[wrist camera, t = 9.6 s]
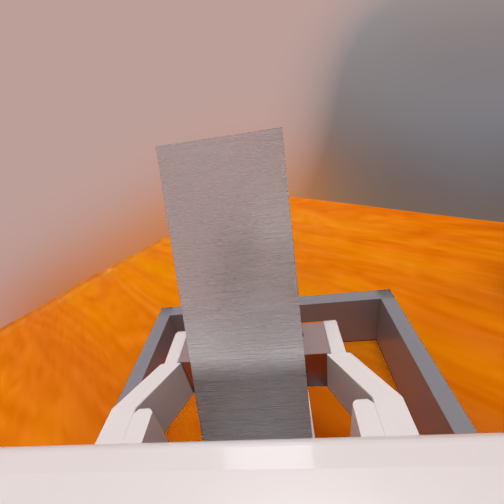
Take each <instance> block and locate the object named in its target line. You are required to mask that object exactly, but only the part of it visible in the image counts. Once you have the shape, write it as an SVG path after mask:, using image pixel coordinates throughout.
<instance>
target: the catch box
mask: <svg viewBox="0 0 504 504" xmlns="http://www.w3.org/2000/svg"><path fill="white" fill-rule="evenodd" d="M299 306H300V316H301V323H305V322H317V321H329V320H336V321H337V324H338V327H339V331H340V334H341V337H342V340H343V342H346V341H362V340H377V342H378V345H379V347H380V349H381V351H382V354H383V356H384V358H385V361H386V363H387V365H388V367H389V370H390V372H391V374H392V377H393V379H394V381H395V383H396V386H397V388H398V390H399V393H400V395H401V396H402V397H403V399H404V401H405V403H406V406H407V408H408V410H409V412H410V415H411V417H412V419H413V421H414V424H415V426H416V428H417V430H418V433H419V435H436V434H471V433H477V431H476V429H475V428H474V426H473V425H472V423H471V421H470V420H469V418H468V416H467V415H466V413H465V411H464V410H463V408H462V407H461V405H460V403H459V402H458V400H457V398H456V397H455V395H454V394H453V392H452V390H451V389H450V387H449V385H448V384H447V382H446V381H445V379H444V377H443V376H442V374H441V372H440V371H439V369H438V368H437V366H436V364H435V363H434V361H433V359H432V358H431V356H430V354H429V353H428V351H427V350H426V348H425V346H424V345H423V343H422V341H421V340H420V338H419V337H418V335H417V333H416V332H415V330H414V328H413V327H412V325H411V324H410V322H409V320H408V319H407V317H406V315H405V314H404V312H403V311H402V309H401V307H400V306H399V304H398V302H397V301H396V299H395V297H394V296H393V294H392V293H391V291H390V289H389V290H377V291H364V292H352V293H340V294H328V295H316V296H303V297H299ZM180 331H185V327H184V320H183V314H182V308H181V307H170V308H162V310H161V312H160V314H159V316H158V318H157V320H156V322H155V324H154V326H153V328H152V331H151V333H150V335H149V337H148V339H147V341H146V343H145V345H144V347H143V349H142V352H141V354H140V356H139V358H138V360H137V362H136V364H135V366H134V368H133V370H132V372H131V375H130V377H129V379H128V381H127V383H126V385H125V387H124V389H123V391H122V393H121V396H120V398H119V400H118V402H117V404H118V403H119V402H120V401H121V400H122V399H123V398H124V397H126V396H127V395H128V394H129V393H130V392H131V391H132V390H133V389H134V388H135V387H136V386H138V385H139V384H140V383H141V382H142V381H143V380H144V379H145V378H146V377H147V376H148V375H150V374H151V373H152V372H153V371H154V370H155V369H156V368H157V367H158V366H159V365H160V364H164V363H165V361H166V358H167V355H168V353H169V350H170V347H171V345H172V342H173V339H174V337H175V334H176V333H177V332H180ZM117 404H116V405H117Z"/></svg>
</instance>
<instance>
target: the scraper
mask: <svg viewBox="0 0 504 504" xmlns="http://www.w3.org/2000/svg"><path fill="white" fill-rule="evenodd" d="M156 152H157V158H158V164H159V170H160V177H161V183H162V189H163V195H164V201H165V208H166V214H167V219H168V227H169V233H170V239H171V245H172V252H173V258H174V264H175V270H176V277H177V283H178V289H179V295H180V302H181V308H182V314H183V320H184V327H185V333H186V339H187V345H188V352H189V358H190V364H191V370H192V377H193V383H194V389H195V395H196V402H197V408H198V414H199V420H200V427H201V433H202V439H203V441H229V440H263V439H297V438H312V428H311V418H310V408H309V398H308V388H307V377H306V367H305V357H304V347H303V337H302V326H301V316H300V306H299V296H298V286H297V276H296V265H295V255H294V245H293V235H292V225H291V214H290V204H289V195H288V184H287V174H286V164H285V154H284V143H283V133H282V128H274V129H268V130H261V131H255V132H248V133H241V134H235V135H229V136H222V137H215V138H208V139H202V140H195V141H189V142H182V143H176V144H169V145H162V146H156Z"/></svg>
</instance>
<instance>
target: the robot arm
mask: <svg viewBox="0 0 504 504" xmlns="http://www.w3.org/2000/svg"><path fill="white" fill-rule="evenodd" d="M301 326H302V337H303V347H304V357H305V367H306V377H307V386H328V388H329V389H330V391H331V392H332V393H333V394H334V396H335V397H336V398H337V399H338V400H339V402H340V403H341V404H342V405H343V407H344V408H345V409H346V410H347V411H348V413H349V414H350V415H351V416H352V421H351V437H332V438H297V439H263V440H229V441H194V442H169V441H168V439H167V437H166V435H165V431H166V430H167V429H168V427H169V426H170V425H171V423H172V422H173V421H174V419H175V418H176V417H177V415H178V414H179V413H180V411H181V410H182V409H183V407H184V406H185V404H186V403H187V402H188V400H189V399H190V398H191V396H192V395H193V392H195V389H194V383H193V377H192V370H191V364H190V358H189V352H188V345H187V339H186V333H185V331H180V332H177V333H176V334H175V337H174V339H173V342H172V345H171V347H170V350H169V353H168V355H167V358H166V361H165V363H164V364H160V365H159V366H158V367H157V368H156V369H155V370H154V371H153V372H152V373H151V374H150V375H148V376H147V377H146V378H145V379H144V380H143V381H142V382H141V383H140V384H139V385H138V386H136V387H135V388H134V389H133V390H132V391H131V392H130V393H129V394H128V395H127V396H126V397H124V398H123V399H122V400H121V401H120V402H119V403H118V404H117V405H116V406H115V407H114V408H112V410H111V412H110V414H109V416H108V418H107V420H106V422H105V424H104V426H103V428H102V431H101V433H100V435H99V437H98V439H97V441H96V443H95V444H89V445H53V446H17V447H0V504H504V433H471V434H436V435H419V433H418V430H417V428H416V426H415V424H414V421H413V419H412V417H411V415H410V412H409V410H408V408H407V406H406V403H405V401H404V399H403V397H402V396H401V395H400V394H399V393H397V392H396V391H395V390H394V389H393V388H392V387H390V386H389V385H388V384H387V383H386V382H384V381H383V380H382V379H381V378H380V377H379V376H377V375H376V374H375V373H374V372H373V371H371V370H370V369H369V368H368V367H367V366H366V365H364V364H363V363H362V362H361V361H360V360H358V359H357V358H356V357H355V356H354V355H353V354H351V353H346V350H345V347H344V344H343V340H342V337H341V334H340V331H339V327H338V324H337V321H336V320H329V321H317V322H305V323H301Z"/></svg>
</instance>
